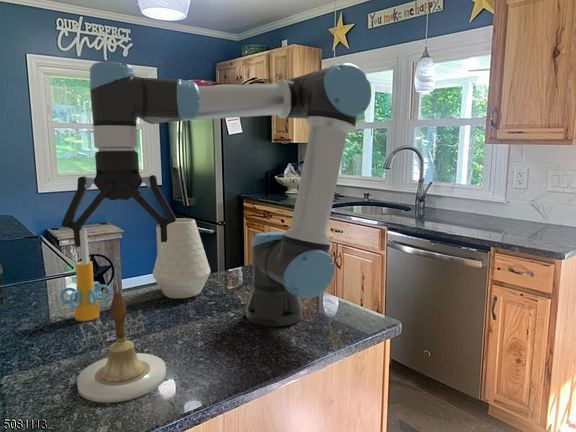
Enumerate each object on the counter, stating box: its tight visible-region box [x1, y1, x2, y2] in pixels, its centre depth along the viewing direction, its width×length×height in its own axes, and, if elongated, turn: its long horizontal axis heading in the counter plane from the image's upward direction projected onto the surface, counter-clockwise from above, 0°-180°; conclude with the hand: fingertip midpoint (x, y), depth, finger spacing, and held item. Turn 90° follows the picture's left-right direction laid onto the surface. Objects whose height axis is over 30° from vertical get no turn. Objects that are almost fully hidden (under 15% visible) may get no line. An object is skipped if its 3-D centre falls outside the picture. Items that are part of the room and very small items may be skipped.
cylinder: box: [59, 260, 112, 322], centre depth 115 cm, size 12×10×15 cm
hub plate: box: [76, 352, 167, 404], centre depth 85 cm, size 16×16×2 cm
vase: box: [152, 217, 211, 300], centre depth 135 cm, size 17×17×23 cm
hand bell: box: [100, 291, 145, 382], centre depth 83 cm, size 8×8×16 cm
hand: (123, 260), depth 84 cm, fingers open, 13 cm apart
